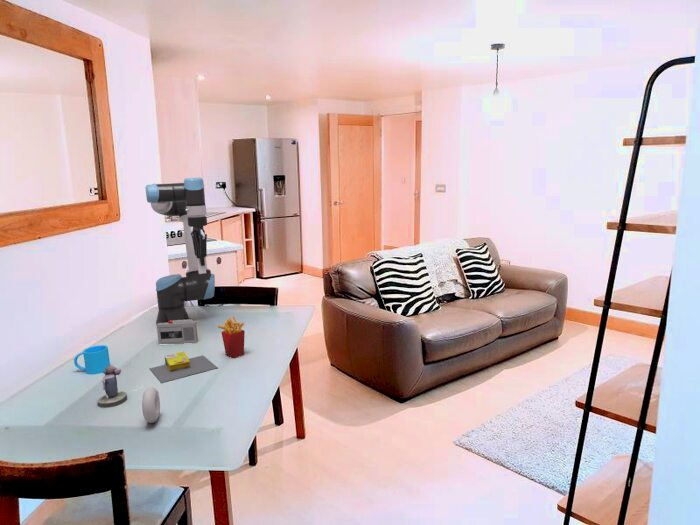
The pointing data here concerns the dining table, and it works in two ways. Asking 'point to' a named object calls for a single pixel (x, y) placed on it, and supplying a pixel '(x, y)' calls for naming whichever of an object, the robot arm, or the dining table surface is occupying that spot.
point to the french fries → (233, 338)
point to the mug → (94, 359)
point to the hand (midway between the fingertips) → (202, 273)
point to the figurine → (111, 389)
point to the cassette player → (177, 332)
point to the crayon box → (177, 361)
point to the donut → (151, 405)
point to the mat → (183, 369)
